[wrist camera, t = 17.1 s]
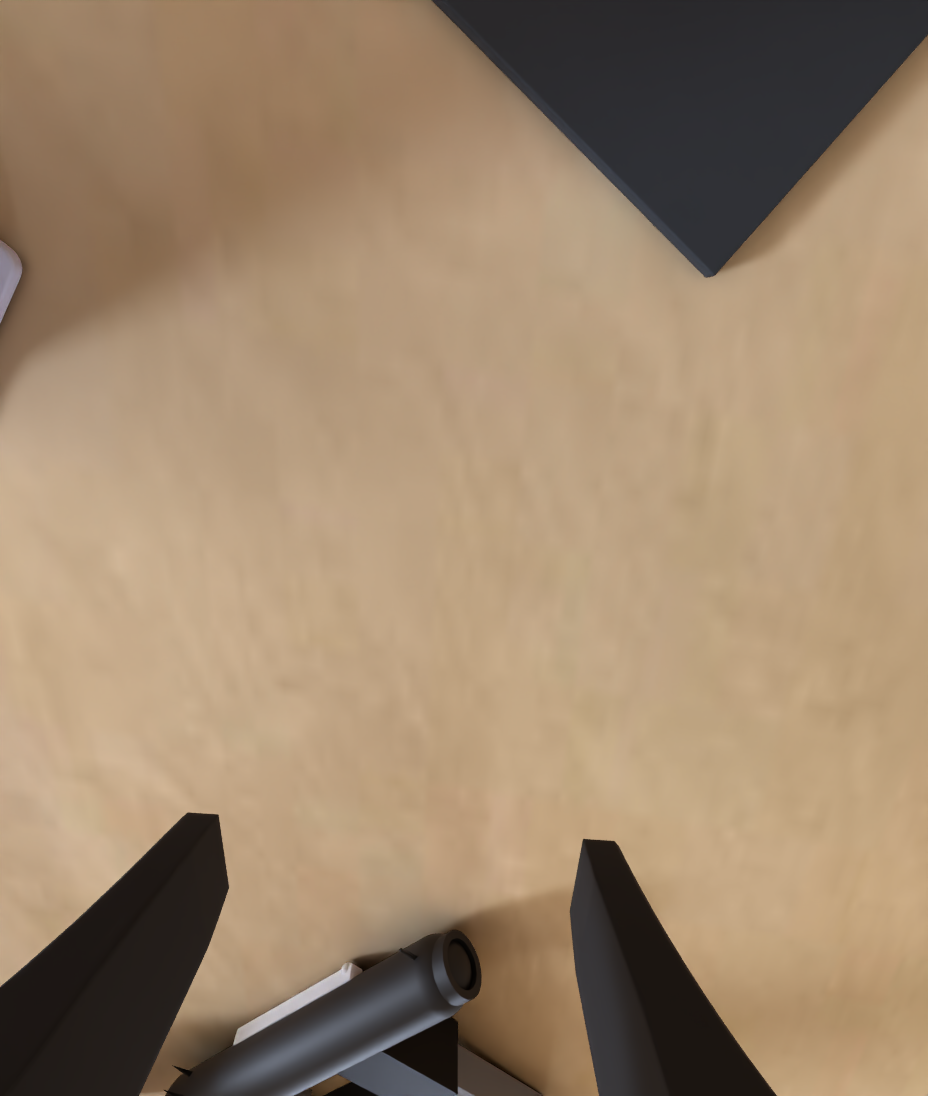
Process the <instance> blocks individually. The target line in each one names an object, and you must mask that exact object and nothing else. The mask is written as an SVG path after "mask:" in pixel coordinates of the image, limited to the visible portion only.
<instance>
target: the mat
mask: <svg viewBox="0 0 928 1096" xmlns="http://www.w3.org/2000/svg"><path fill="white" fill-rule="evenodd" d="M432 1H433V2H434V3H435V4H436V5H437V6H438V7H439V8H440V9H441V10H442V11H443V12H444V13H445V14H446V15H447V16H448V17H449V18H450V19H451V20H452V21H453V22H454V23H455V24H456V25H457V26H458V27H459V28H460V29H461V30H462V31H463V32H464V33H465V34H466V35H467V36H468V37H469V38H470V39H471V40H472V41H473V42H474V43H475V44H476V45H477V46H478V47H479V48H480V49H481V50H482V51H483V52H484V53H485V54H486V55H487V56H488V57H489V59H490V60H491V61H492V62H493V63H494V64H495V65H496V66H497V67H498V68H499V69H500V70H501V71H502V72H503V73H504V74H505V75H506V76H507V77H508V78H509V79H510V80H511V81H512V82H513V83H514V84H515V85H516V86H517V87H518V88H519V89H520V90H521V91H522V92H523V93H524V94H525V95H526V96H527V97H528V98H529V99H530V100H531V101H532V102H533V103H534V104H535V105H536V106H537V107H538V108H539V109H540V110H541V111H542V112H543V113H544V114H545V115H546V116H547V117H548V118H549V119H550V120H551V121H552V122H553V123H554V124H555V125H556V126H557V127H558V128H559V129H560V130H561V131H562V132H563V133H564V134H565V135H566V136H567V138H568V139H569V140H570V141H571V142H572V143H573V144H574V145H575V146H576V147H577V148H578V149H579V150H580V151H581V152H582V153H583V154H584V155H585V156H586V157H587V158H588V159H589V160H590V161H591V162H592V163H593V164H594V165H595V166H596V167H597V168H598V169H599V170H600V171H601V172H602V173H603V174H604V175H605V176H606V177H607V178H608V179H609V180H610V181H611V182H612V183H613V184H614V185H615V186H616V187H617V188H618V189H619V190H620V191H621V192H622V193H623V194H624V195H625V196H626V197H627V198H628V199H629V200H630V201H631V202H632V203H633V204H634V205H635V206H636V207H637V208H638V209H639V210H640V211H641V212H642V213H643V214H644V215H645V216H646V218H647V219H648V220H649V221H650V222H651V223H652V224H653V225H654V226H655V227H656V228H657V229H658V230H659V231H660V232H661V233H662V234H663V235H664V236H665V237H666V238H667V239H668V240H669V241H670V242H671V243H672V244H673V245H674V246H675V247H676V248H677V249H678V250H679V251H680V252H681V253H682V254H683V255H684V256H685V257H686V258H687V259H688V260H689V261H690V262H691V263H692V264H693V265H694V266H695V267H696V268H697V269H698V270H699V271H700V272H701V273H702V274H703V275H704V276H705V277H711V276H714V275H716V274H717V272H718V271H719V270H720V269H721V268H722V267H723V266H724V265H725V263H726V262H727V261H728V260H729V259H730V258H731V257H732V255H733V254H734V253H735V252H736V251H737V250H738V249H739V248H740V246H741V245H742V244H743V243H744V242H745V241H746V240H747V239H748V237H749V236H750V235H751V234H752V233H753V232H754V231H755V229H756V228H757V227H758V226H759V225H760V224H761V223H762V222H763V220H764V219H765V218H766V217H767V216H768V215H769V214H770V213H771V211H772V210H773V209H774V208H775V207H776V206H777V205H778V203H779V202H780V201H781V200H782V199H783V198H784V197H785V196H786V194H787V193H788V192H789V191H790V190H791V189H792V188H793V187H794V185H795V184H796V183H797V182H798V181H799V180H800V179H801V178H802V176H803V175H804V174H805V173H806V172H807V171H808V170H809V168H810V167H811V166H812V165H813V164H814V163H815V162H816V161H817V159H818V158H819V157H820V156H821V155H822V154H823V153H824V152H825V150H826V149H827V148H828V147H829V146H830V145H831V144H832V142H833V141H834V140H835V139H836V138H837V137H838V136H839V135H840V133H841V132H842V131H843V130H844V129H845V128H846V127H847V126H848V124H849V123H850V122H851V121H852V120H853V119H854V118H855V116H856V115H857V114H858V113H859V112H860V111H861V110H862V109H863V107H864V106H865V105H866V104H867V103H868V102H869V101H870V100H871V98H872V97H873V96H874V95H875V94H876V93H877V92H878V90H879V89H880V88H881V87H882V86H883V85H884V84H885V83H886V81H887V80H888V79H889V78H890V77H891V76H892V75H893V74H894V72H895V71H896V70H897V69H898V68H899V67H900V66H901V65H902V63H903V62H904V61H905V60H906V59H907V58H908V57H909V55H910V54H911V53H912V52H913V51H914V50H915V49H916V48H917V46H918V45H919V44H920V43H921V42H922V41H923V40H924V39H925V37H926V36H927V35H928V0H432Z"/></svg>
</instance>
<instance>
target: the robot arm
mask: <svg viewBox="0 0 928 1096" xmlns="http://www.w3.org/2000/svg"><path fill="white" fill-rule="evenodd" d="M22 270H23V269H22V263H21V260H20V258H19V257H18V255H17V253H16V252H15V251H14V250H13V249H12V248H10V247H9V246H8V245H6V244H5V243H4V242H2V241H1V240H0V323H1V321H2V318H3V316H4V314H5V312H6V309H7V307H8V305H9V303H10V300H11V298H12V296H13V294H14V291H15V289H16V287H17V285H18V282H19V280H20V278H21V275H22ZM228 889H229V884H228V877H227V871H226V864H225V857H224V850H223V843H222V836H221V829H220V822H219V815H216V814H201V813H187V814H186V815H184V816H183V817H182V818H181V819H180V820H179V821H178V822H177V823H176V824H175V825H174V826H173V827H172V828H171V829H170V830H169V831H168V832H167V833H166V834H165V835H164V836H163V837H162V838H161V839H160V840H159V841H158V842H157V843H156V844H155V845H154V846H153V847H152V848H151V849H150V850H149V851H148V852H147V853H146V854H145V855H144V856H143V857H142V858H141V859H140V860H139V861H138V862H137V863H136V864H135V865H134V866H133V867H132V868H131V869H130V870H129V871H128V872H127V873H125V874H124V875H123V876H122V877H121V878H120V879H119V880H118V881H117V882H116V883H115V884H114V885H113V886H112V887H111V888H110V889H109V890H108V891H107V892H106V893H105V894H104V895H102V896H101V897H100V898H99V899H98V900H97V901H96V902H95V903H94V904H93V905H92V906H91V907H90V908H89V909H88V910H87V911H86V912H85V913H83V914H82V915H81V916H80V917H79V918H78V919H77V920H76V921H75V922H74V923H73V924H72V925H70V926H69V927H68V928H67V929H66V930H65V931H64V932H63V933H61V934H60V935H59V936H58V937H57V938H56V939H55V940H54V941H52V942H51V943H50V944H49V945H48V946H47V947H46V948H45V949H43V950H42V951H41V952H40V953H39V954H38V955H37V956H36V957H34V958H33V959H32V960H31V961H30V962H29V963H28V964H27V965H25V966H24V967H23V968H22V969H21V970H20V971H18V972H17V973H16V974H15V975H14V976H13V977H11V978H10V979H9V980H8V981H7V982H5V983H4V984H3V985H2V986H1V987H0V1096H139V1094H140V1092H141V1090H142V1088H143V1086H144V1083H145V1081H146V1079H147V1077H148V1075H149V1073H150V1071H151V1069H152V1066H153V1064H154V1062H155V1060H156V1058H157V1056H158V1054H159V1052H160V1049H161V1047H162V1045H163V1043H164V1041H165V1039H166V1037H167V1035H168V1032H169V1030H170V1028H171V1026H172V1024H173V1022H174V1020H175V1018H176V1015H177V1013H178V1011H179V1009H180V1007H181V1005H182V1003H183V1000H184V998H185V996H186V994H187V992H188V990H189V988H190V985H191V983H192V981H193V979H194V977H195V975H196V973H197V970H198V968H199V966H200V964H201V962H202V959H203V957H204V955H205V953H206V951H207V948H208V946H209V943H210V941H211V938H212V935H213V932H214V930H215V927H216V924H217V921H218V918H219V916H220V913H221V910H222V907H223V904H224V901H225V898H226V895H227V892H228ZM570 918H571V929H572V940H573V950H574V960H575V970H576V976H577V982H578V987H579V993H580V998H581V1003H582V1008H583V1014H584V1019H585V1024H586V1030H587V1035H588V1040H589V1045H590V1050H591V1056H592V1061H593V1066H594V1071H595V1076H596V1082H597V1087H598V1092H599V1096H777V1095H776V1094H775V1093H774V1091H773V1090H772V1089H771V1087H770V1086H769V1085H768V1083H767V1082H766V1081H765V1079H764V1078H763V1077H762V1075H761V1074H760V1073H759V1071H758V1070H757V1069H756V1067H755V1066H754V1065H753V1063H752V1062H751V1061H750V1059H749V1058H748V1056H747V1055H746V1054H745V1052H744V1051H743V1050H742V1048H741V1047H740V1045H739V1044H738V1043H737V1041H736V1040H735V1038H734V1037H733V1035H732V1034H731V1033H730V1031H729V1030H728V1028H727V1027H726V1025H725V1024H724V1022H723V1021H722V1019H721V1018H720V1017H719V1015H718V1014H717V1012H716V1011H715V1009H714V1008H713V1006H712V1005H711V1003H710V1002H709V1000H708V999H707V997H706V996H705V994H704V993H703V991H702V990H701V988H700V987H699V985H698V983H697V982H696V980H695V979H694V977H693V976H692V974H691V973H690V971H689V969H688V968H687V966H686V965H685V963H684V961H683V960H682V958H681V956H680V955H679V953H678V951H677V950H676V948H675V947H674V945H673V943H672V942H671V940H670V938H669V937H668V935H667V934H666V932H665V930H664V928H663V927H662V925H661V923H660V922H659V920H658V918H657V916H656V915H655V913H654V911H653V909H652V908H651V906H650V904H649V902H648V901H647V899H646V897H645V895H644V893H643V892H642V890H641V888H640V886H639V884H638V882H637V881H636V879H635V877H634V875H633V873H632V871H631V869H630V867H629V865H628V863H627V862H626V860H625V858H624V856H623V854H622V852H621V850H620V848H619V846H618V845H617V844H616V843H615V841H604V840H590V839H583V842H582V848H581V853H580V858H579V864H578V869H577V875H576V880H575V886H574V891H573V896H572V902H571V907H570Z"/></svg>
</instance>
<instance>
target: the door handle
mask: <svg viewBox="0 0 928 1096" xmlns="http://www.w3.org/2000/svg"><path fill="white" fill-rule="evenodd" d="M362 971H363V970H362V969H360V968H359V967H357V966H356V965H354V964H352V963H351V962H346V963H344V964H343V966H342V968H341V970H339V971H337V972H336V973H334V974H332V975H330V976H329V977H327V978H325V979H323V980H322V981H320V982H318V983H316V984H315V985H313V986H311V987H310V988H308V989H306V990H304V991H303V992H301V993H299V994H297V995H296V996H294V997H292V998H290V999H289V1000H287V1001H285V1002H283V1003H282V1004H280V1005H278V1006H276V1007H275V1008H273V1009H271V1010H269V1011H268V1012H266V1013H264V1014H262V1015H261V1016H259V1017H257V1018H255V1019H254V1020H252V1021H250V1022H248V1023H247V1024H245V1025H243V1026H242V1027H240V1028H238V1030H237V1033H236V1036H235V1040H234V1043H233V1046H231V1047H229V1048H227V1049H225V1050H224V1051H222V1052H220V1053H218V1054H217V1055H215V1056H213V1057H211V1058H209V1059H208V1060H206V1061H204V1062H202V1063H201V1064H199V1065H197V1066H195V1067H193V1068H192V1069H190V1070H186V1069H183V1068H180V1067H176V1066H174V1067H175V1068H176V1069H178V1070H179V1071H181V1072H182V1073H183V1074H182V1075H181V1076H180V1077H178V1078H177V1079H176V1080H175V1082H174V1083H173V1084H172V1085H171V1087H170V1088H169V1090H168V1091H166V1090H164V1091H166V1092H167V1093H166V1095H165V1096H311V1094H312V1090H306V1089H308V1088H310V1087H312V1086H314V1085H316V1084H318V1083H320V1082H322V1081H324V1080H326V1079H328V1078H330V1077H332V1076H334V1075H336V1074H338V1075H340V1076H342V1077H344V1078H346V1079H348V1080H350V1081H351V1082H350V1083H348V1084H346V1085H344V1086H342V1087H340V1088H338V1089H336V1090H334V1091H332V1092H330V1093H328V1094H326V1095H324V1096H543V1095H541V1094H539V1093H538V1092H536V1091H534V1090H533V1089H531V1088H529V1087H528V1086H526V1085H524V1084H523V1083H521V1082H520V1081H518V1080H516V1079H515V1078H513V1077H511V1076H510V1075H508V1074H506V1073H505V1072H503V1071H501V1070H500V1069H498V1068H496V1067H495V1066H493V1065H491V1064H490V1063H488V1062H487V1061H485V1060H483V1059H482V1058H480V1057H478V1056H477V1055H475V1054H473V1053H472V1052H470V1051H468V1050H467V1049H465V1048H463V1047H462V1046H460V1045H458V1022H457V1021H455V1020H453V1019H452V1018H450V1017H451V1016H453V1015H454V1014H455V1013H457V1012H458V1011H459V1010H460V1008H461V1007H462V1006H463V1004H464V1003H466V1002H468V1001H470V1000H472V999H474V998H475V997H476V996H477V995H478V993H479V991H480V987H481V968H480V963H479V959H478V956H477V954H476V951H475V949H474V947H473V945H472V943H471V942H470V940H469V939H468V938H467V937H466V936H465V935H464V934H463V933H462V932H460V931H458V930H452V931H450V932H448V933H446V934H432V935H429V936H426V937H424V938H423V939H421V940H419V941H417V942H415V943H414V944H412V945H410V946H408V947H407V948H405V949H402V948H401V949H400V951H399V952H398V953H396V954H394V955H392V956H391V957H389V958H387V959H385V960H383V961H382V962H380V963H378V964H376V965H375V966H373V967H371V968H369V969H367V970H366V971H364V972H362ZM172 1066H173V1065H172Z"/></svg>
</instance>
